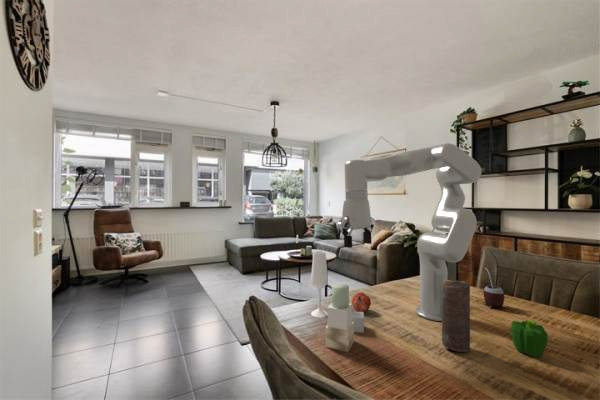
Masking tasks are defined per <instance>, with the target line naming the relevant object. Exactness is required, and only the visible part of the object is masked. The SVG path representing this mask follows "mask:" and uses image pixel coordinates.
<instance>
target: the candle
mask: <svg viewBox="0 0 600 400" xmlns="http://www.w3.org/2000/svg"><path fill="white" fill-rule="evenodd" d="M470 307H471V284H470V283H469V282H467V281H463V280H462V281H461V280H450V279H447V281H444V282H443V298H442V321H441V343H442V346H444V347H445V348H446V349H448V350H449V349H450V350H452V351H455V352H458V353H462V352H469V351H470V349H471V347H470V345H471V317H470V316H471V308H470Z"/></svg>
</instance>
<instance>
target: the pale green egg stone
mask: <svg viewBox="0 0 600 400" xmlns="http://www.w3.org/2000/svg"><path fill="white" fill-rule="evenodd" d="M349 292H350V287H349V285H348V284H345V283H334V284H332V285H331V303H332V306H333V307H334V308H337V309H345V308H348V307H349V303H350V296H349V295H350V293H349Z"/></svg>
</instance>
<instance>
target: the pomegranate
mask: <svg viewBox="0 0 600 400" xmlns="http://www.w3.org/2000/svg"><path fill="white" fill-rule="evenodd" d="M351 304H352V308H353V309H354V310H355V311H356V312H363V313H366V312H368V311H369V309H370V307H371V305H372V301H371V298H370V297H369V296H368V295H367V294H366V293H365V292H361V291H360V292H358V293H356V294H354V295H353V296H352V299H351Z"/></svg>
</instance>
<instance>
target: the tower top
mask: <svg viewBox="0 0 600 400" xmlns="http://www.w3.org/2000/svg"><path fill="white" fill-rule="evenodd" d="M352 309H353V305H352V302H349V307H348V308H345V309H337V308H334V307H333V306H332V302H331V303H330V304H329V305H328V306H327V308H326V312H327V316H326V318H327V319H326V320H327V321H326V322H327V324H326V326H327V327H330V328H335V329H340V330H345V331H347V330H348V328H349V326H350V325H351V323H352V311H353V310H352Z"/></svg>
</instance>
